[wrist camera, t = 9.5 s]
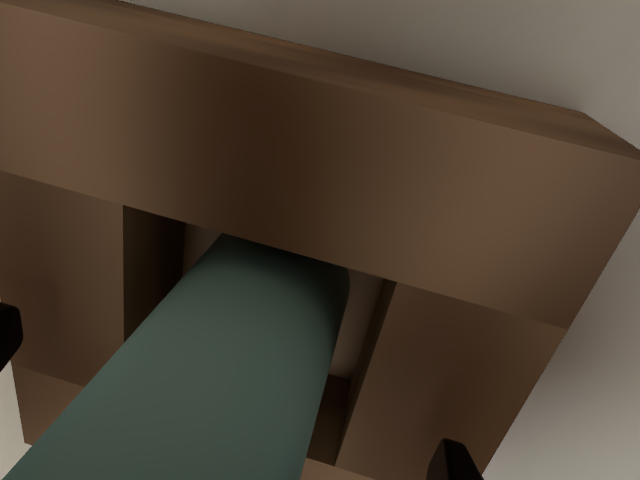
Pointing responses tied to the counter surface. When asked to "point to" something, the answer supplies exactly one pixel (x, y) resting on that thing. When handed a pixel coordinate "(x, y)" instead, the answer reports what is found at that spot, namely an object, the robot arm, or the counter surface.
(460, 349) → the socket block
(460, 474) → the robot arm
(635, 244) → the counter surface
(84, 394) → the pin
